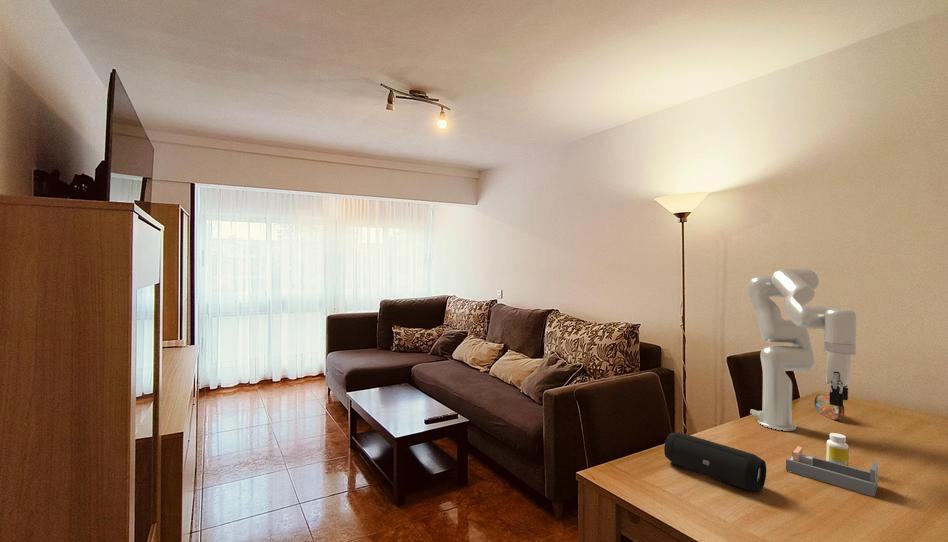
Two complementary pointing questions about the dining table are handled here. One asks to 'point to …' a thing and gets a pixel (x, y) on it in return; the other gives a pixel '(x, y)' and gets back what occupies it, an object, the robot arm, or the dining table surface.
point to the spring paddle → (802, 456)
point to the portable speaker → (716, 461)
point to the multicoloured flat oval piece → (828, 408)
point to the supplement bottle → (837, 449)
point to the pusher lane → (838, 474)
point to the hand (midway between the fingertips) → (838, 402)
